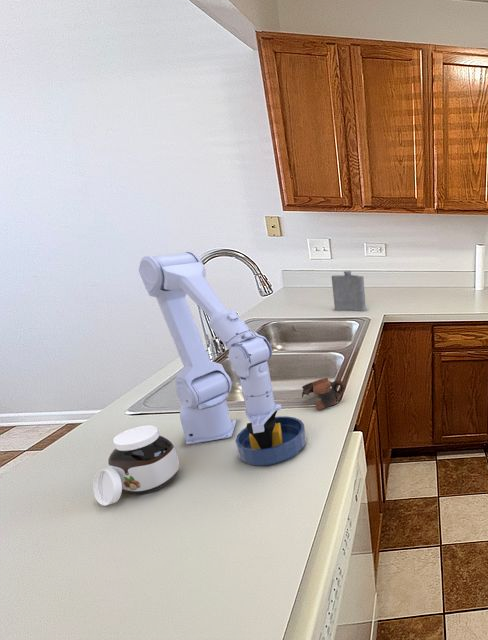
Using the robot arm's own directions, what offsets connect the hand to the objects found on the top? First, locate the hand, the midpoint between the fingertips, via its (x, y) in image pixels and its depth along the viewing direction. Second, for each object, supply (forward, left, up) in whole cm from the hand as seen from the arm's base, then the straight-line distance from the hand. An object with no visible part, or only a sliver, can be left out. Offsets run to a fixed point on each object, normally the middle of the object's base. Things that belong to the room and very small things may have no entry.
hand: (267, 442), depth 92 cm
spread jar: (-23, -5, -2) cm, 24 cm away
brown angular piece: (+13, +21, -2) cm, 25 cm away
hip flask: (+28, +119, -2) cm, 122 cm away
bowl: (+1, +1, -2) cm, 3 cm away
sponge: (0, 0, -1) cm, 1 cm away
